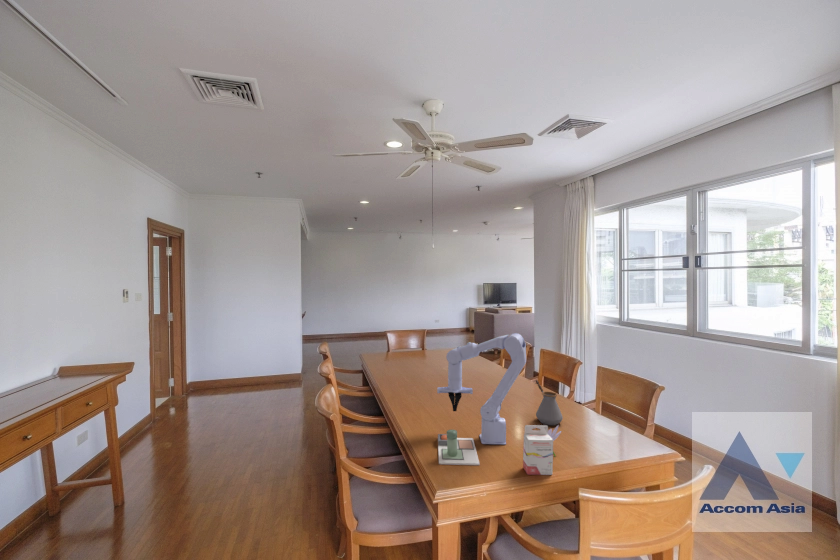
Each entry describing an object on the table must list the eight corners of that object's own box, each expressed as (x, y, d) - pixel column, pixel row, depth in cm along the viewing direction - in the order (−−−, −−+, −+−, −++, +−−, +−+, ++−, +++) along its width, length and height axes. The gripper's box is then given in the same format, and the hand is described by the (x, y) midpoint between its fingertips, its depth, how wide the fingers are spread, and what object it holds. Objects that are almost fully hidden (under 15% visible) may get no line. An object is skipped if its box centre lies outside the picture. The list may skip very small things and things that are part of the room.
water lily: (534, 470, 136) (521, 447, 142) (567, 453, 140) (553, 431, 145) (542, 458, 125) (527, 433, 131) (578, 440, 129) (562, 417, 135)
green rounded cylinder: (456, 451, 134) (456, 429, 134) (458, 455, 130) (458, 433, 131) (446, 451, 134) (445, 429, 134) (448, 456, 130) (447, 433, 130)
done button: (450, 439, 144) (450, 434, 144) (450, 444, 140) (450, 438, 140) (441, 439, 144) (441, 434, 144) (441, 443, 141) (441, 438, 141)
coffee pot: (567, 427, 160) (567, 392, 160) (542, 427, 159) (542, 393, 159) (546, 409, 181) (547, 379, 181) (524, 410, 180) (524, 379, 180)
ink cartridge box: (527, 475, 120) (528, 430, 120) (522, 467, 125) (523, 424, 125) (553, 475, 120) (553, 430, 120) (547, 467, 125) (548, 424, 125)
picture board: (472, 439, 146) (473, 433, 146) (479, 465, 126) (479, 458, 126) (437, 438, 146) (437, 432, 146) (438, 464, 126) (439, 457, 126)
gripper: (437, 380, 148) (437, 413, 148) (473, 380, 148) (473, 414, 148) (437, 375, 155) (437, 407, 155) (471, 376, 155) (471, 408, 155)
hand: (454, 410), depth 152 cm, fingers closed
